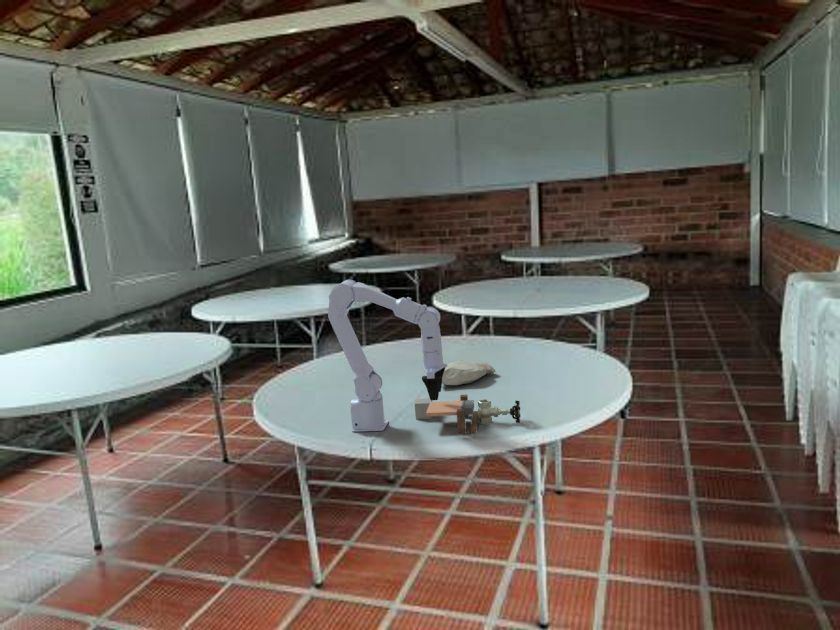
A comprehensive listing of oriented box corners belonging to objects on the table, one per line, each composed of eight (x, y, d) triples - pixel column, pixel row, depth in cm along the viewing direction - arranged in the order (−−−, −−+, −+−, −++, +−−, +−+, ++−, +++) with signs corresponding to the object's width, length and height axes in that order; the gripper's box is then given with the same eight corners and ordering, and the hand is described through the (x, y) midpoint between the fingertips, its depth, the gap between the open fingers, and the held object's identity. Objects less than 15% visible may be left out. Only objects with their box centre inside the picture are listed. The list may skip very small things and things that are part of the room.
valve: (477, 426, 188) (519, 426, 185) (475, 404, 187) (517, 404, 184) (480, 418, 194) (520, 418, 191) (478, 397, 193) (519, 397, 190)
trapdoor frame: (458, 433, 183) (456, 411, 182) (462, 415, 198) (460, 394, 197) (476, 433, 183) (474, 410, 181) (478, 414, 197) (477, 394, 196)
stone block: (415, 419, 198) (414, 403, 197) (418, 414, 203) (416, 398, 202) (431, 419, 198) (430, 403, 197) (433, 413, 202) (432, 398, 201)
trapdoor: (426, 418, 187) (425, 411, 186) (430, 406, 196) (430, 400, 196) (472, 416, 185) (471, 409, 184) (474, 404, 194) (473, 398, 194)
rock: (500, 359, 239) (461, 367, 219) (500, 379, 239) (461, 389, 219) (456, 357, 251) (416, 364, 231) (457, 375, 251) (416, 385, 231)
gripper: (443, 355, 180) (447, 403, 182) (448, 343, 194) (451, 387, 197) (417, 357, 181) (422, 404, 184) (424, 344, 195) (428, 388, 198)
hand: (435, 395), depth 190 cm, fingers open, 7 cm apart
